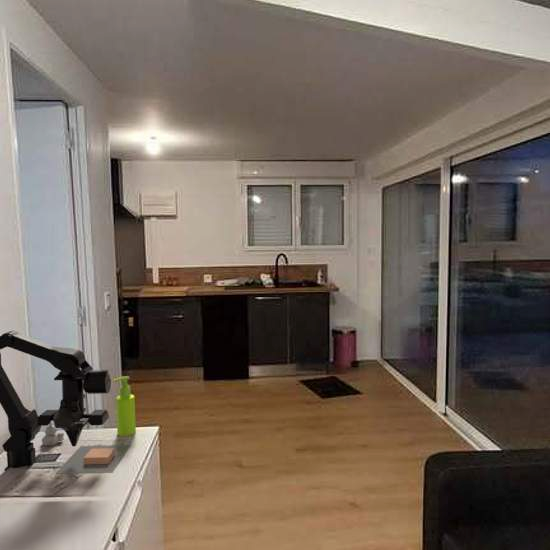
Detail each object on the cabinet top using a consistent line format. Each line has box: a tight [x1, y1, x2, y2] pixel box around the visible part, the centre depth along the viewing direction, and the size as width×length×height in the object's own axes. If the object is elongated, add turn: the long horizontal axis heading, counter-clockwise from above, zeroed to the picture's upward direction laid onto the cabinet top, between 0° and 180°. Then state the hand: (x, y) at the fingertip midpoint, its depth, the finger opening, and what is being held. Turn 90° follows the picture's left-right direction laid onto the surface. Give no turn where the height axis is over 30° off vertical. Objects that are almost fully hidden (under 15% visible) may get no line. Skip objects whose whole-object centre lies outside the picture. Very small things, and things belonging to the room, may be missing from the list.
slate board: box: [54, 444, 132, 475], centre depth 139 cm, size 16×18×1 cm
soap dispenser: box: [111, 375, 137, 437], centre depth 158 cm, size 6×7×20 cm
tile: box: [84, 448, 115, 464], centre depth 138 cm, size 2×6×7 cm
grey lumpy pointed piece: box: [41, 422, 65, 447], centre depth 151 cm, size 5×7×8 cm
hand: (74, 445), depth 138 cm, fingers closed
